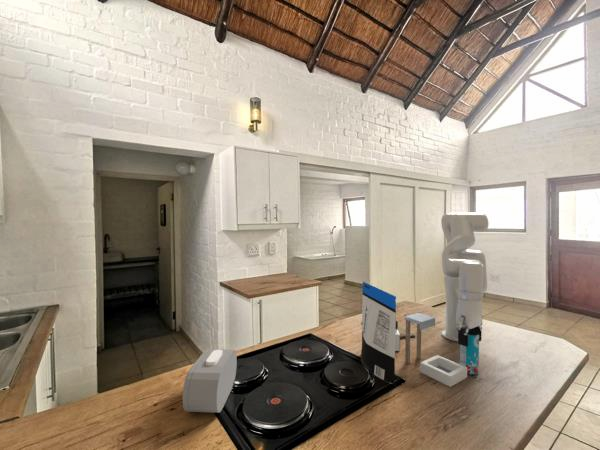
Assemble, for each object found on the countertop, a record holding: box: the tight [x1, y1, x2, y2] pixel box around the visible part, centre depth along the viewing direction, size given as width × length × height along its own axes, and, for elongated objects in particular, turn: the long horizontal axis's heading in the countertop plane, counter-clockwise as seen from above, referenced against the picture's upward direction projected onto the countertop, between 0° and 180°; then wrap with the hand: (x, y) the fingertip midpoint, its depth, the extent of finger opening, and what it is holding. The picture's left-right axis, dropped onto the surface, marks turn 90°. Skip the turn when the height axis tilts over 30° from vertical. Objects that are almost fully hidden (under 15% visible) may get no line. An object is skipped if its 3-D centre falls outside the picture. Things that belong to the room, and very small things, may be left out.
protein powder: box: [360, 281, 397, 387], centre depth 104 cm, size 10×24×30 cm, turn 13°
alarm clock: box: [181, 348, 238, 414], centre depth 84 cm, size 21×10×13 cm, turn 178°
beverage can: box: [459, 328, 480, 376], centre depth 102 cm, size 6×6×15 cm
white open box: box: [404, 312, 468, 388], centre depth 103 cm, size 11×18×18 cm, turn 33°
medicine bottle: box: [395, 320, 401, 352], centre depth 122 cm, size 7×7×12 cm
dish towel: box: [361, 321, 416, 340], centre depth 142 cm, size 17×23×2 cm
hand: (469, 342), depth 101 cm, fingers open, 9 cm apart
